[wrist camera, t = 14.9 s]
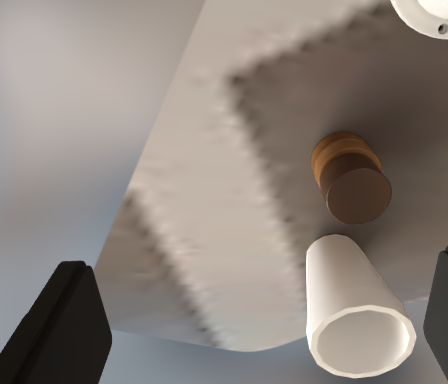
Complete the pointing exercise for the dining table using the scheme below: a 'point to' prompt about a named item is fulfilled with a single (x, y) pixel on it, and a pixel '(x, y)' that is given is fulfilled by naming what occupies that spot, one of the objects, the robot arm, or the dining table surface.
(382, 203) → the walnut chip
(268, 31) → the dining table surface
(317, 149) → the oak base
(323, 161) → the oak chip middle
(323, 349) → the foam cup
